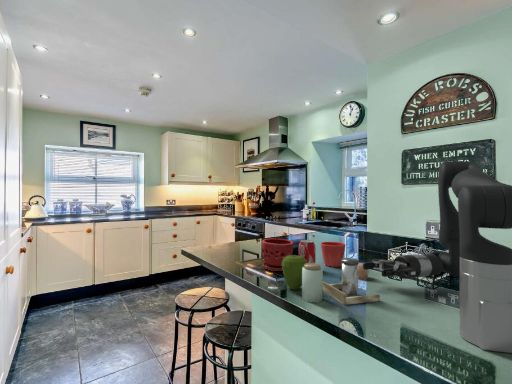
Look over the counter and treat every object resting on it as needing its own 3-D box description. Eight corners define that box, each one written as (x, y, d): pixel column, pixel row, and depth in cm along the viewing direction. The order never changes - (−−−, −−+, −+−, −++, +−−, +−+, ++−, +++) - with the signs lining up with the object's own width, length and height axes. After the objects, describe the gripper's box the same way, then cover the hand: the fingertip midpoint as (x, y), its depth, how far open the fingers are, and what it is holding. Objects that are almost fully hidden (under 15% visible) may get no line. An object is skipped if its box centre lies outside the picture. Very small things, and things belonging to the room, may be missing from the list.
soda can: (315, 272, 110) (315, 242, 110) (297, 271, 111) (298, 241, 112) (315, 267, 117) (315, 239, 117) (298, 266, 118) (298, 239, 119)
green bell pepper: (313, 289, 90) (313, 254, 90) (296, 295, 84) (297, 257, 84) (292, 282, 96) (292, 250, 96) (276, 288, 90) (276, 253, 90)
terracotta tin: (369, 280, 100) (369, 266, 100) (352, 279, 102) (352, 265, 102) (366, 276, 106) (366, 263, 106) (350, 274, 107) (350, 262, 108)
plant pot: (261, 273, 108) (261, 242, 108) (262, 264, 121) (262, 237, 121) (294, 274, 107) (294, 243, 107) (291, 265, 120) (292, 238, 120)
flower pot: (315, 263, 125) (315, 242, 125) (334, 261, 130) (334, 240, 130) (331, 269, 115) (331, 246, 115) (350, 266, 120) (350, 244, 120)
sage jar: (322, 303, 78) (322, 268, 78) (301, 301, 79) (301, 266, 79) (322, 296, 84) (322, 263, 84) (302, 294, 85) (302, 262, 85)
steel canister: (359, 299, 81) (359, 262, 82) (341, 297, 83) (342, 261, 83) (357, 293, 86) (357, 258, 86) (340, 291, 87) (340, 257, 88)
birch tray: (353, 287, 92) (353, 278, 92) (379, 300, 80) (379, 290, 80) (321, 290, 88) (321, 281, 89) (344, 305, 77) (344, 294, 77)
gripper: (395, 250, 99) (358, 253, 94) (431, 259, 85) (389, 262, 80) (395, 271, 99) (357, 275, 94) (431, 283, 85) (389, 288, 80)
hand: (372, 269), depth 87 cm, fingers open, 8 cm apart
